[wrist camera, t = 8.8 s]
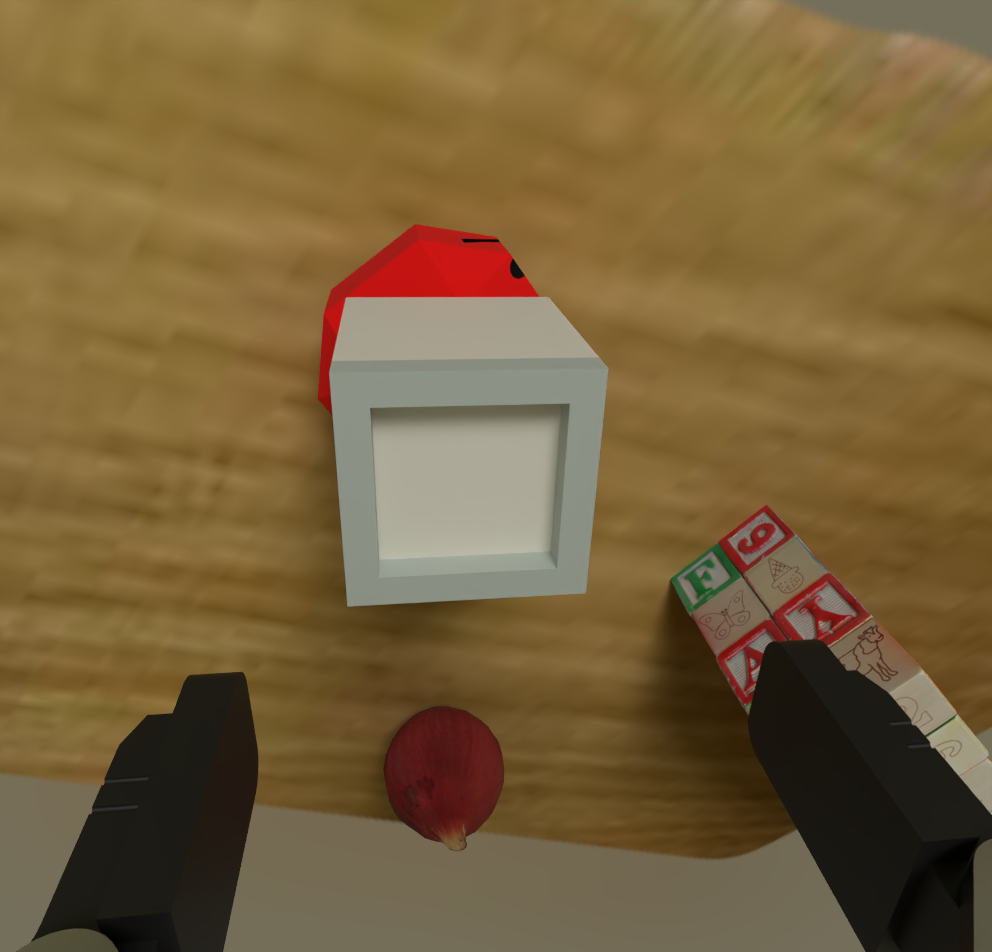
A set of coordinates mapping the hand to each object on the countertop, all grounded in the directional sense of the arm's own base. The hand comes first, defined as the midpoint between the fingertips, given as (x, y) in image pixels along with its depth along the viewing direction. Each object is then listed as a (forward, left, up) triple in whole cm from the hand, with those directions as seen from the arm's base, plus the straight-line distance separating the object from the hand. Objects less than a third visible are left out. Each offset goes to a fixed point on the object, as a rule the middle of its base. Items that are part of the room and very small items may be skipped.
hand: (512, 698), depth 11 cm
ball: (0, 0, -21) cm, 21 cm away
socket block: (0, 0, -13) cm, 13 cm away
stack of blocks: (-21, +19, -21) cm, 35 cm away
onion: (0, +21, -21) cm, 30 cm away
